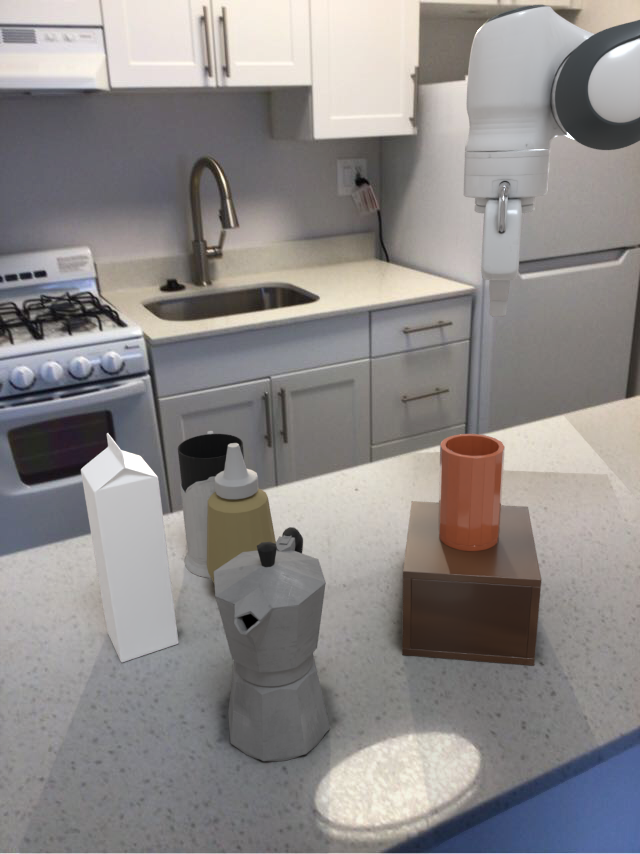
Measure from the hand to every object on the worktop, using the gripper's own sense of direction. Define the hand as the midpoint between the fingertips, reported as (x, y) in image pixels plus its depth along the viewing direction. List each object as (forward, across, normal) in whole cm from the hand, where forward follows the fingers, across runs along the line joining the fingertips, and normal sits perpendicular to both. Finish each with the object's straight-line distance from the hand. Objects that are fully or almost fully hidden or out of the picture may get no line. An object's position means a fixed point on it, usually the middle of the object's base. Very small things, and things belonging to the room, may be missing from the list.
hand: (499, 306), depth 86 cm
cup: (+20, -19, +2) cm, 27 cm away
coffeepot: (+29, -37, +17) cm, 50 cm away
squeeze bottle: (+29, -19, +26) cm, 44 cm away
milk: (+29, -29, +34) cm, 53 cm away
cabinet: (+29, -19, +2) cm, 35 cm away
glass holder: (+29, -10, +32) cm, 45 cm away
